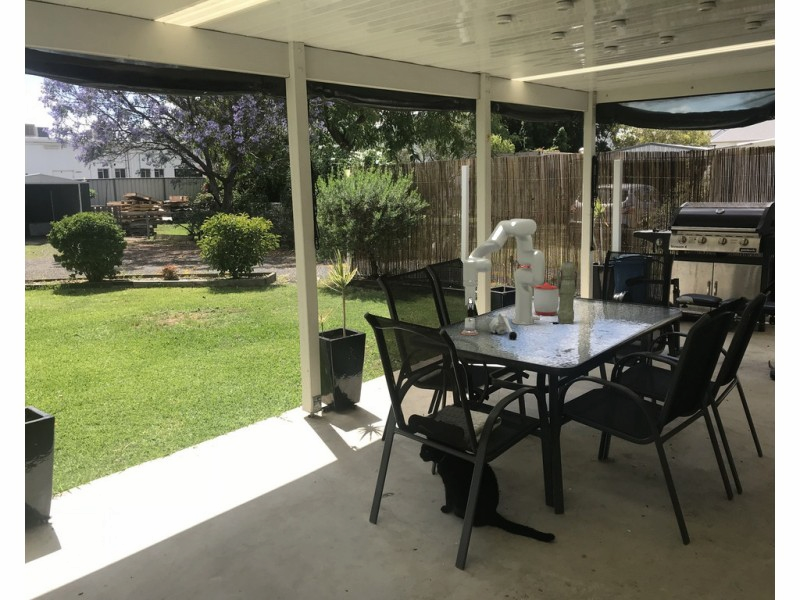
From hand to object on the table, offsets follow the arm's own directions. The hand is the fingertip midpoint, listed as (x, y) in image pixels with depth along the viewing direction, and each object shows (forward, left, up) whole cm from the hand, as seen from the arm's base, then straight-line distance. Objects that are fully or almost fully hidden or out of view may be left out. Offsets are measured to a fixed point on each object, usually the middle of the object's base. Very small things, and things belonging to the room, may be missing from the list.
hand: (470, 315), depth 340 cm
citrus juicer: (-45, -58, -10) cm, 75 cm away
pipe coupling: (0, 0, -10) cm, 9 cm away
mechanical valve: (-18, +4, -10) cm, 21 cm away
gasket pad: (+1, +1, -10) cm, 10 cm away
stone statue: (-53, -32, -10) cm, 63 cm away
